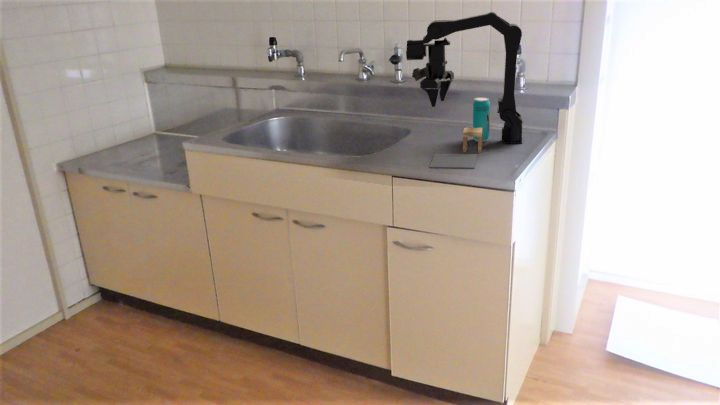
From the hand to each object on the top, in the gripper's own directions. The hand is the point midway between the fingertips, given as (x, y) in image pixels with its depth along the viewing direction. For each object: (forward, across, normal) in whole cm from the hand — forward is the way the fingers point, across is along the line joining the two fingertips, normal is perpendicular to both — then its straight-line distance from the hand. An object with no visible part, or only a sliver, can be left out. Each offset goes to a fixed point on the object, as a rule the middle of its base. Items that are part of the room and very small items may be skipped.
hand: (438, 103), depth 211 cm
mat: (+14, +20, +12) cm, 28 cm away
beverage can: (+14, -6, +14) cm, 21 cm away
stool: (+14, +7, +14) cm, 21 cm away
